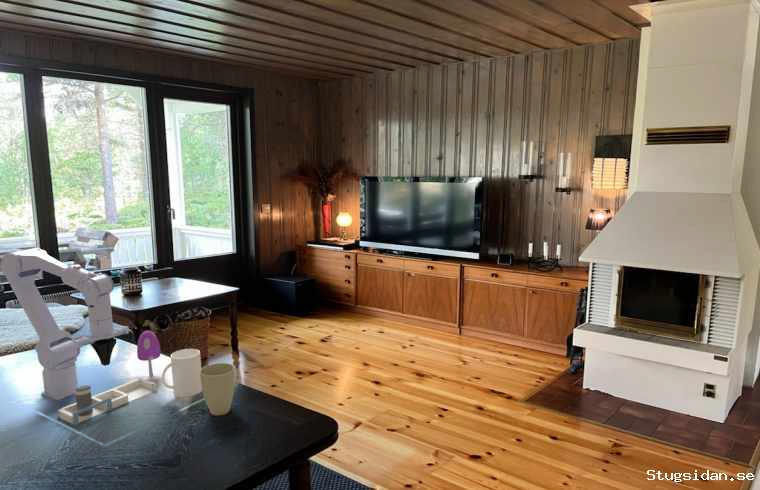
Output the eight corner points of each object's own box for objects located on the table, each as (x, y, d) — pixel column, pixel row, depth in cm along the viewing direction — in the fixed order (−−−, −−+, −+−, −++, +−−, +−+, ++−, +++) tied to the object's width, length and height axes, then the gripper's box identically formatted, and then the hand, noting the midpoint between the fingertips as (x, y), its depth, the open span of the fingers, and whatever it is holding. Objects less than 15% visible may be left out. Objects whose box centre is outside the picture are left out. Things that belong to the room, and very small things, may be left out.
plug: (74, 413, 141) (72, 389, 140) (88, 408, 144) (86, 384, 143) (81, 417, 139) (79, 392, 138) (95, 412, 142) (93, 387, 141)
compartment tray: (58, 419, 140) (56, 405, 139) (141, 386, 160) (140, 373, 159) (75, 427, 135) (73, 413, 135) (158, 392, 155) (157, 379, 155)
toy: (166, 374, 168) (163, 329, 166) (148, 382, 162) (143, 335, 160) (154, 370, 172) (150, 326, 169) (135, 377, 166) (130, 332, 164)
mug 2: (246, 409, 144) (244, 367, 142) (213, 422, 136) (210, 379, 135) (225, 397, 151) (222, 357, 149) (192, 409, 144) (189, 368, 142)
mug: (169, 405, 147) (166, 364, 145) (157, 396, 153) (153, 357, 151) (209, 391, 155) (206, 353, 153) (195, 383, 161) (192, 346, 159)
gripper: (82, 327, 140) (87, 376, 142) (133, 313, 152) (137, 358, 154) (68, 323, 143) (73, 370, 146) (119, 310, 155) (123, 354, 158)
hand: (105, 364), depth 150 cm, fingers closed
